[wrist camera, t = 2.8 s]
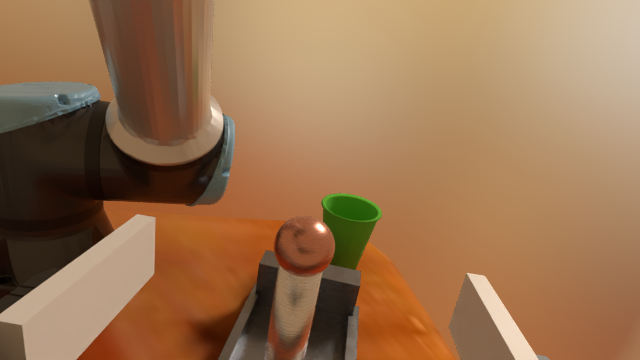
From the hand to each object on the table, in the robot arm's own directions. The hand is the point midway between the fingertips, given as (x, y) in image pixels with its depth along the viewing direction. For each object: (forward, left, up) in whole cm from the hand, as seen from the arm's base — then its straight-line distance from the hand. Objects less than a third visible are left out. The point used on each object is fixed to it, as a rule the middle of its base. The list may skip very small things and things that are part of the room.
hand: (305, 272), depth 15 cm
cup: (-24, +28, -24) cm, 44 cm away
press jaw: (-6, +5, -22) cm, 24 cm away
